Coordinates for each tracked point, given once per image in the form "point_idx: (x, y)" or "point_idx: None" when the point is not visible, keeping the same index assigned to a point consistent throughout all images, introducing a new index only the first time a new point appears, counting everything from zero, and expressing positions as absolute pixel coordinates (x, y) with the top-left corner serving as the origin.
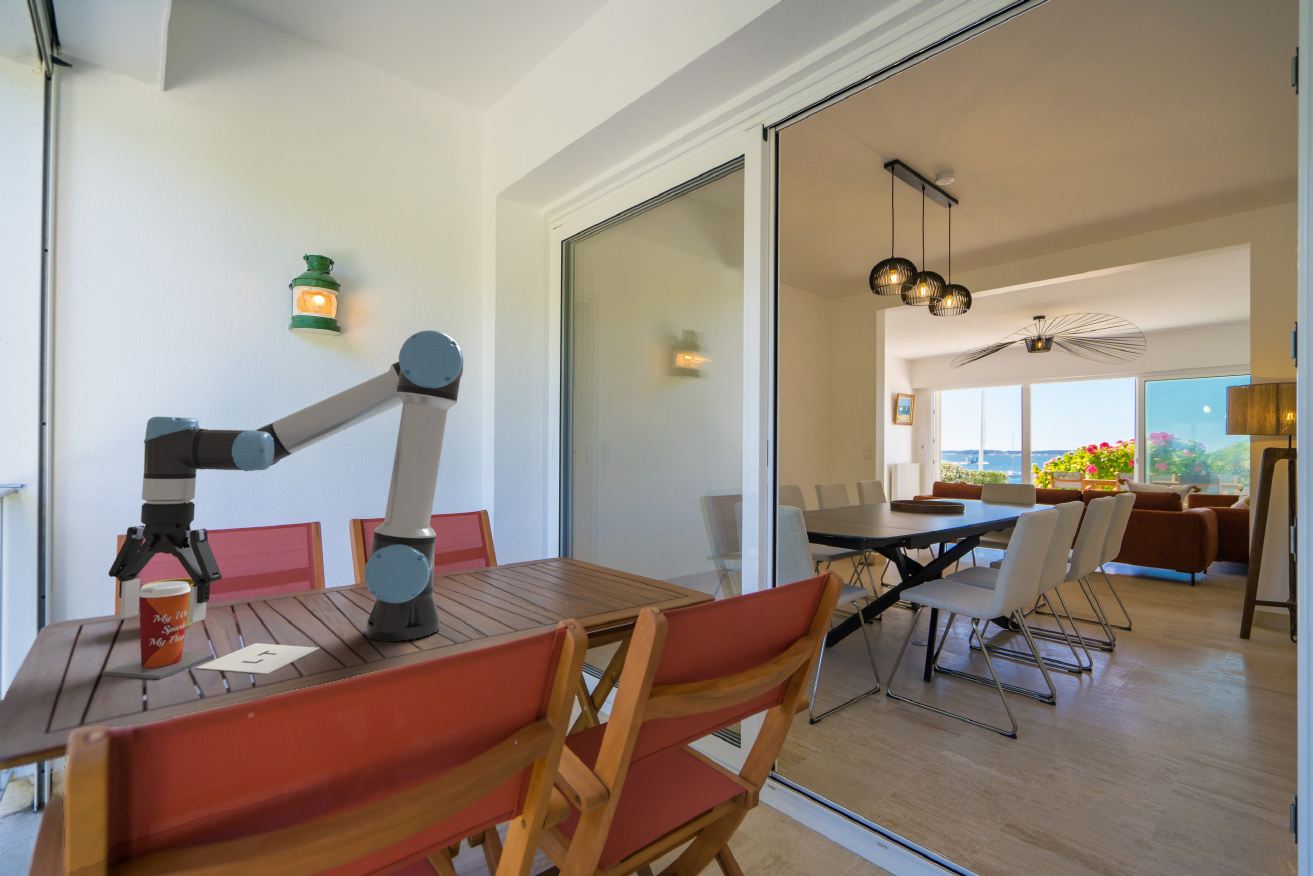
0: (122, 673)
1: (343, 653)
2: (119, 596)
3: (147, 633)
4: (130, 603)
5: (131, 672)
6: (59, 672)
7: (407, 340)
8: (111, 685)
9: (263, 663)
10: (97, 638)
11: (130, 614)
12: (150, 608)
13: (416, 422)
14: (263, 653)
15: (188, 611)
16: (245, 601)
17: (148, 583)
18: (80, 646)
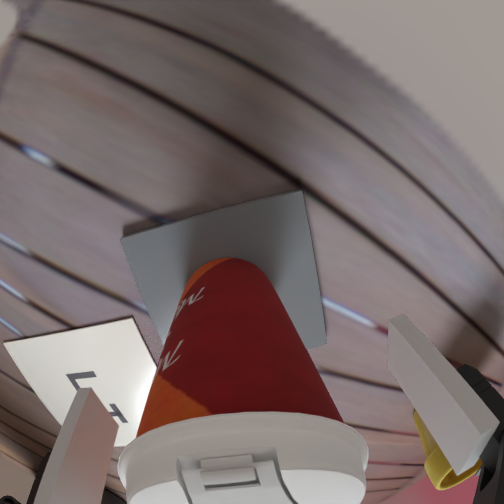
0: (237, 206)
1: (35, 434)
2: (472, 367)
3: (208, 304)
4: (414, 374)
5: (215, 218)
6: (410, 161)
7: None
8: (187, 153)
9: (57, 377)
10: (500, 312)
11: (392, 346)
12: (186, 378)
13: None
14: (115, 412)
15: (422, 437)
16: (420, 475)
17: None
18: (496, 277)
